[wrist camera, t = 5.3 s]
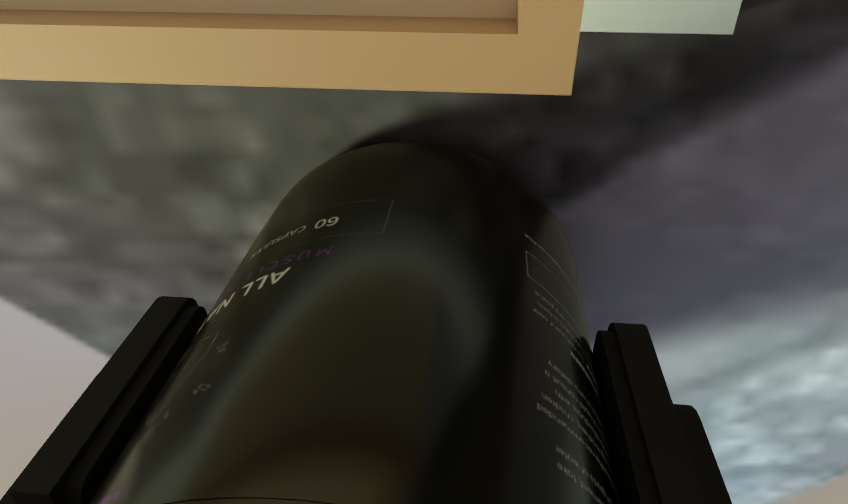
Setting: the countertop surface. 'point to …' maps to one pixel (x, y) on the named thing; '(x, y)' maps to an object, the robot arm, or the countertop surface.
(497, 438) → the supplement bottle
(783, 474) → the countertop surface
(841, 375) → the countertop surface
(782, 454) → the countertop surface
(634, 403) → the robot arm
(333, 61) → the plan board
